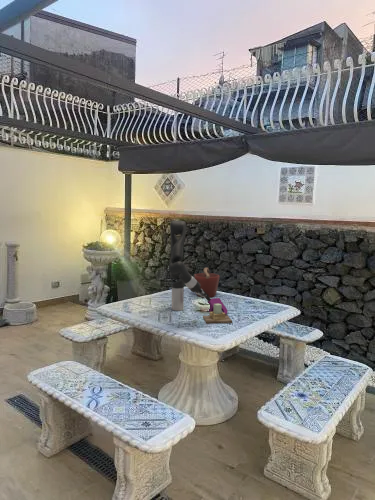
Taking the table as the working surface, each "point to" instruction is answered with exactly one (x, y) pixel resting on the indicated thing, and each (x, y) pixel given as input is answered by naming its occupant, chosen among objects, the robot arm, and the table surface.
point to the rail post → (217, 308)
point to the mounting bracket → (216, 301)
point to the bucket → (208, 282)
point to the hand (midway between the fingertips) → (206, 299)
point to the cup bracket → (217, 318)
